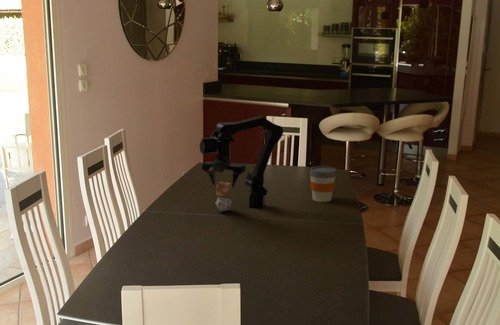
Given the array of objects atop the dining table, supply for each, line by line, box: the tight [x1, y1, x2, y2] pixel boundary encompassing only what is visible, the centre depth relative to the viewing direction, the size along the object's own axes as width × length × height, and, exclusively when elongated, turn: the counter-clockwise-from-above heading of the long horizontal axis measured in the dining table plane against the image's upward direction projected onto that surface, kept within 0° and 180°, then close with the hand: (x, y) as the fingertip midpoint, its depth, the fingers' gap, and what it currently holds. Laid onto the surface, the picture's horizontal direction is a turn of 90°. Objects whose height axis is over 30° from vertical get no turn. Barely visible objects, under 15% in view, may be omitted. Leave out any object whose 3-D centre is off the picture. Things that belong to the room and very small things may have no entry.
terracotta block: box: [215, 181, 232, 197], centre depth 246 cm, size 5×5×5 cm
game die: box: [213, 195, 235, 214], centre depth 247 cm, size 9×8×10 cm
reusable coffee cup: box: [309, 165, 337, 203], centre depth 265 cm, size 13×13×15 cm
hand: (223, 186), depth 245 cm, fingers open, 9 cm apart
